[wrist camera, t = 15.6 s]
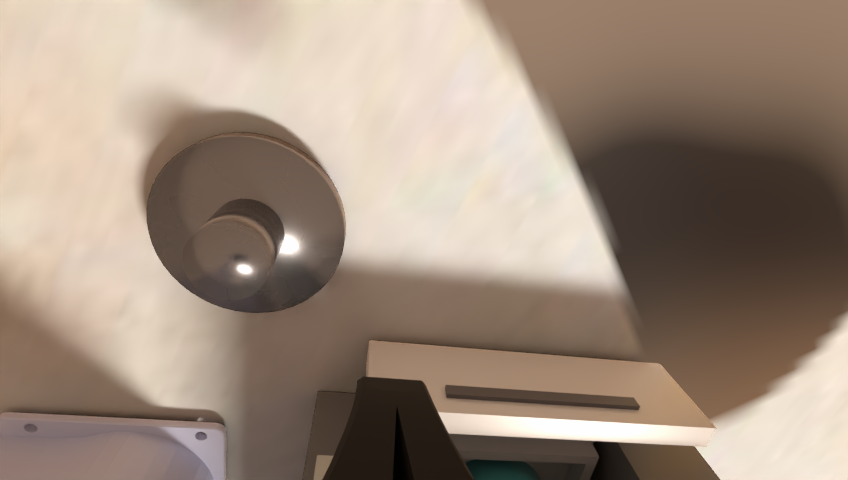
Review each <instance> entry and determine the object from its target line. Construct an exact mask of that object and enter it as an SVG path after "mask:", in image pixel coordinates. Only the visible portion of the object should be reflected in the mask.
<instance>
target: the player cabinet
mask: <svg viewBox="0 0 848 480" xmlns="http://www.w3.org/2000/svg"><path fill="white" fill-rule="evenodd" d="M355 395H356V393H340V392H324V391H318V395H317V400H316V406H315V412H314V417H313V423H312V429H311V434H310V440H309V446H308V451H307V457H306V463H305V468H304V474H303V480H322V479H323V477H324V475H325V473H326V471H327V469H328V467H329V465H330V463H331V461H332V458H333V456H334V454H335V451H336V449H337V446H338V444H339V442H340V439H341V437H342V435H343V432H344V430H345V427H346V424H347V422H348V419H349V416H350V413H351V410H352V407H353V403H354V400H355ZM593 446H594V448H595V450H596V452H597V453H598V455H599V459H598V461H597V464H596V466H595V468H594V470H593V473H592V475H591V477H590V480H720V479H719V477H718V476H717V475H716V474H715V472H714V471H713V470H712V468H711V467H710V466H709V465H708V463H707V462H706V461H705V460H704V458H703V457H702V456H701V454H700V453H699V452H698V451H697V449H696V448H695V447H694V446H682V445H663V444H644V443H624V442H605V441H594V443H593Z"/></svg>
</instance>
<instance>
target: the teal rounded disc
mask: <svg viewBox="0 0 848 480" xmlns="http://www.w3.org/2000/svg"><path fill="white" fill-rule="evenodd" d="M465 464H466V466H467V467H468V469H469V471H470V473H471V475H472V476H473V478H474V479H475V480H540V477H539V475H538V474H537V472H536V471H535V470H534V469H533V468H532V467H531V466H530V465H529V464H527V463H526V462H524V461H501V460H477V459H474V460H471V461H469V462H466V463H465Z"/></svg>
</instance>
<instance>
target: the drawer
mask: <svg viewBox="0 0 848 480" xmlns="http://www.w3.org/2000/svg"><path fill="white" fill-rule="evenodd" d="M366 377H379V378H393V379H408V380H422V381H423V382H424V384H425V385H426V387H427V389H428V391H429V394H430V396H431V398H432V401H433V403H434V405H435V407H436V409H437V411H438V413H439V415H440V418H441V420H442V422H443V423H444V425H445V427H446V429H447V431H448V433H449V435H450V437H451V439H452V441H453V443H454V445H455V446H456V448H457V450H458V452H459V453H460V455H461V457H462V459H463V460H464V462H465V463H466V462H469V461H471V460H474V459H477V460H501V461H524V462H526V463H527V464H529V465H530V466H531V467H532V468H533V469H534V470H535V471H536V472H537V474H538V475H539V477H540V480H590V477H591V475H592V473H593V470H594V468H595V466H596V464H597V461H598V459H599V455H598V453H597V452H596V450H595V448H594V446H593V443H594V441H605V442H624V443H644V444H663V445H682V446H702V447H707V445H708V443H709V441H710V439H711V438H712V436H713V434H714V432H715V430H716V427H715V426H714V425H713V424H712V423H711V422H710V420H709V419H708V418H707V417H706V416H705V415H704V414H703V412H702V411H701V410H700V409H699V408H698V407H697V406H696V404H695V403H694V402H693V401H692V400H691V399H690V398H689V397H688V395H687V394H686V393H685V392H684V391H683V390H682V389H681V387H680V386H679V385H678V384H677V383H676V382H675V381H674V379H673V378H672V377H671V376H670V375H669V374H668V373H667V371H666V370H665V369H664V368H663V367H662V366H661V365H660V364H658V363H646V362H634V361H621V360H609V359H597V358H584V357H572V356H559V355H547V354H535V353H522V352H510V351H498V350H485V349H473V348H460V347H448V346H436V345H423V344H411V343H399V342H386V341H374V340H369V346H368V353H367V364H366Z"/></svg>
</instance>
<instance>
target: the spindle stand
mask: <svg viewBox="0 0 848 480" xmlns="http://www.w3.org/2000/svg"><path fill="white" fill-rule="evenodd" d="M147 224H148V231H149V235H150V238H151V242H152V245H153V247H154V249H155V251H156V253H157V255H158V257H159V259H160V260H161V262H162V263H163V265H164V266H165V268H166V269H167V270H168V271H169V273H170V274H171V275H172V276H173V277H174V278H175V279H176V280H177V281H178V282H179V283H180V284H181V285H183V286H184V287H185V288H186V289H188V290H189V291H190V292H192V293H193V294H195V295H197V296H198V297H200V298H202V299H204V300H206V301H208V302H210V303H212V304H215V305H217V306H220V307H223V308H227V309H231V310H235V311H241V312H250V313H263V312H273V311H278V310H283V309H286V308H289V307H293V306H295V305H297V304H299V303H302V302H304V301H305V300H307V299H308V298H310V297H312V296H313V295H314V294H316V293H317V292H318V291H319V290H321V288H322V287H323V286H324V285H325V284H326V283H327V282H328V281H329V279H330V278H331V277H332V275H333V274H334V272H335V270H336V268H337V266H338V264H339V261H340V258H341V255H342V252H343V246H344V240H345V235H346V221H345V212H344V208H343V204H342V201H341V199H340V196H339V194H338V191H337V189H336V188H335V186H334V184H333V182H332V181H331V179H330V178H329V177H328V175H327V174H326V173H325V171H324V170H323V169H322V168H321V167H320V166H319V165H318V164H317V163H316V162H315V161H314V160H313V159H312V158H310V157H309V156H308V155H307V154H305V153H304V152H302V151H301V150H299V149H298V148H296V147H294V146H292V145H290V144H288V143H286V142H284V141H282V140H279V139H276V138H273V137H270V136H266V135H261V134H256V133H244V132H239V133H226V134H221V135H216V136H213V137H210V138H207V139H204V140H202V141H200V142H198V143H196V144H194V145H192V146H190V147H188V148H187V149H185V150H183V151H182V152H180V153H179V154H178V155H176V156H175V157H173V158H172V159H171V160H170V161H169V162H168V163H167V164H166V165H165V166H164V168H163V169H162V170H161V172H160V173H159V174H158V176H157V178H156V180H155V182H154V184H153V186H152V189H151V192H150V195H149V199H148V205H147Z"/></svg>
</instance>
